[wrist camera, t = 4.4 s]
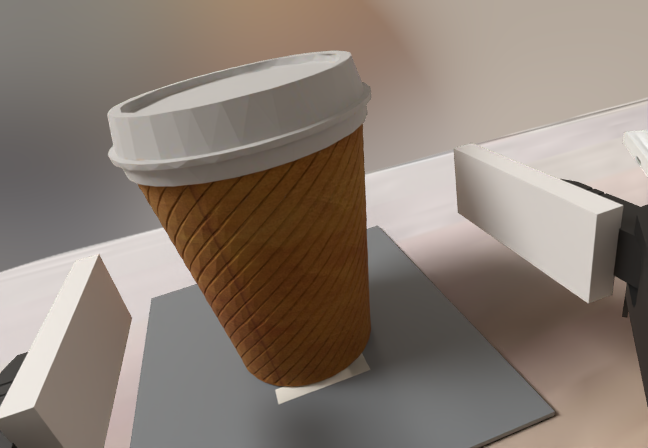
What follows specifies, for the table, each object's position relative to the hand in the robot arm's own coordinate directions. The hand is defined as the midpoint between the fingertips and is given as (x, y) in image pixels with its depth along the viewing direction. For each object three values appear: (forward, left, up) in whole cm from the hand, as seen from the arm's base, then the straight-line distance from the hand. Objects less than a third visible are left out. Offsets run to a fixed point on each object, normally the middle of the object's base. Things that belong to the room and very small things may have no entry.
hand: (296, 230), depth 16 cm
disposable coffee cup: (-1, +2, -7) cm, 7 cm away
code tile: (-1, +2, -7) cm, 7 cm away
